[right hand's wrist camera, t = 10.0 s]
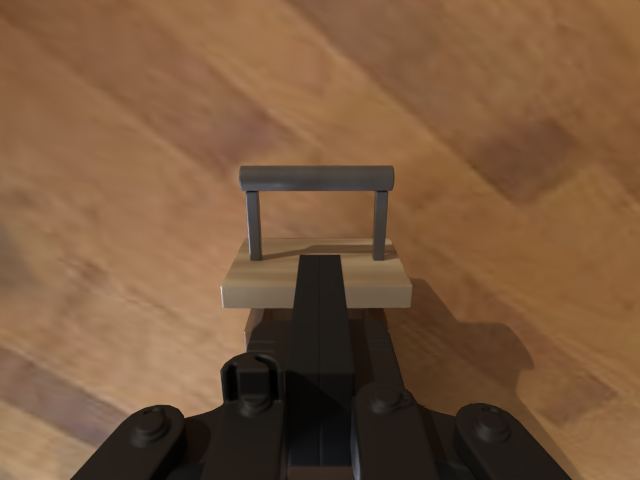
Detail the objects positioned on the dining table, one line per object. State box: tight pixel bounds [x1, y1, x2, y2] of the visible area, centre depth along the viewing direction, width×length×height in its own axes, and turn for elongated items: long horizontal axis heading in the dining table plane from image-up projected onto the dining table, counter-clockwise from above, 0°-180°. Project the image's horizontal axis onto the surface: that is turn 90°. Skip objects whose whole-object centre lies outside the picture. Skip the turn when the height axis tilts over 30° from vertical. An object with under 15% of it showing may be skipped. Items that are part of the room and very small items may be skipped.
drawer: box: [221, 166, 413, 350], centre depth 23 cm, size 20×9×6 cm, turn 0°
